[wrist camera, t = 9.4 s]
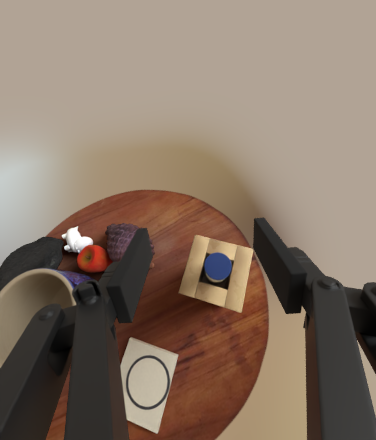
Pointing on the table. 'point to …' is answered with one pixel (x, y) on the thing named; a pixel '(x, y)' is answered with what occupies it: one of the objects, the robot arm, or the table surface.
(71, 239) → the toy creature
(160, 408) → the drawing board
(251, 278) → the table surface
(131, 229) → the pine cone
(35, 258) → the rock
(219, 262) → the marker
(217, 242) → the pen block
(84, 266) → the apple
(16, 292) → the planter
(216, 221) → the table surface
